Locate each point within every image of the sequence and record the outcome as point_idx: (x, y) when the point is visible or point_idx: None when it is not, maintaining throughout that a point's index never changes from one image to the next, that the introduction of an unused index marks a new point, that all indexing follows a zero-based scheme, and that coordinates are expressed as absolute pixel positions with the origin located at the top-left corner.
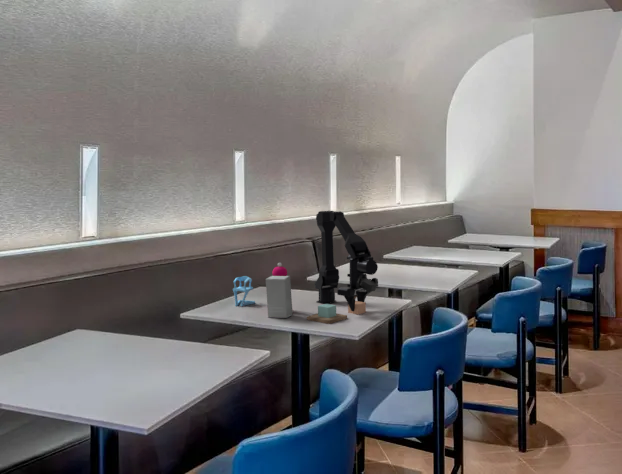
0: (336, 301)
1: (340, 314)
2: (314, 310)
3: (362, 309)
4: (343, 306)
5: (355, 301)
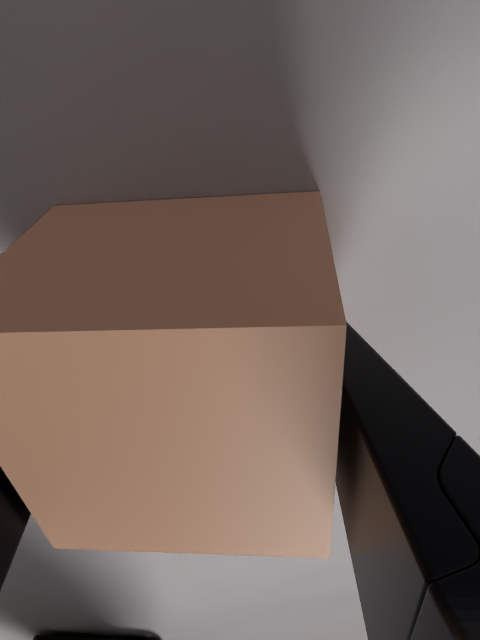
0: (35, 636)
1: None
2: None
3: (145, 234)
4: (92, 555)
5: (91, 532)
